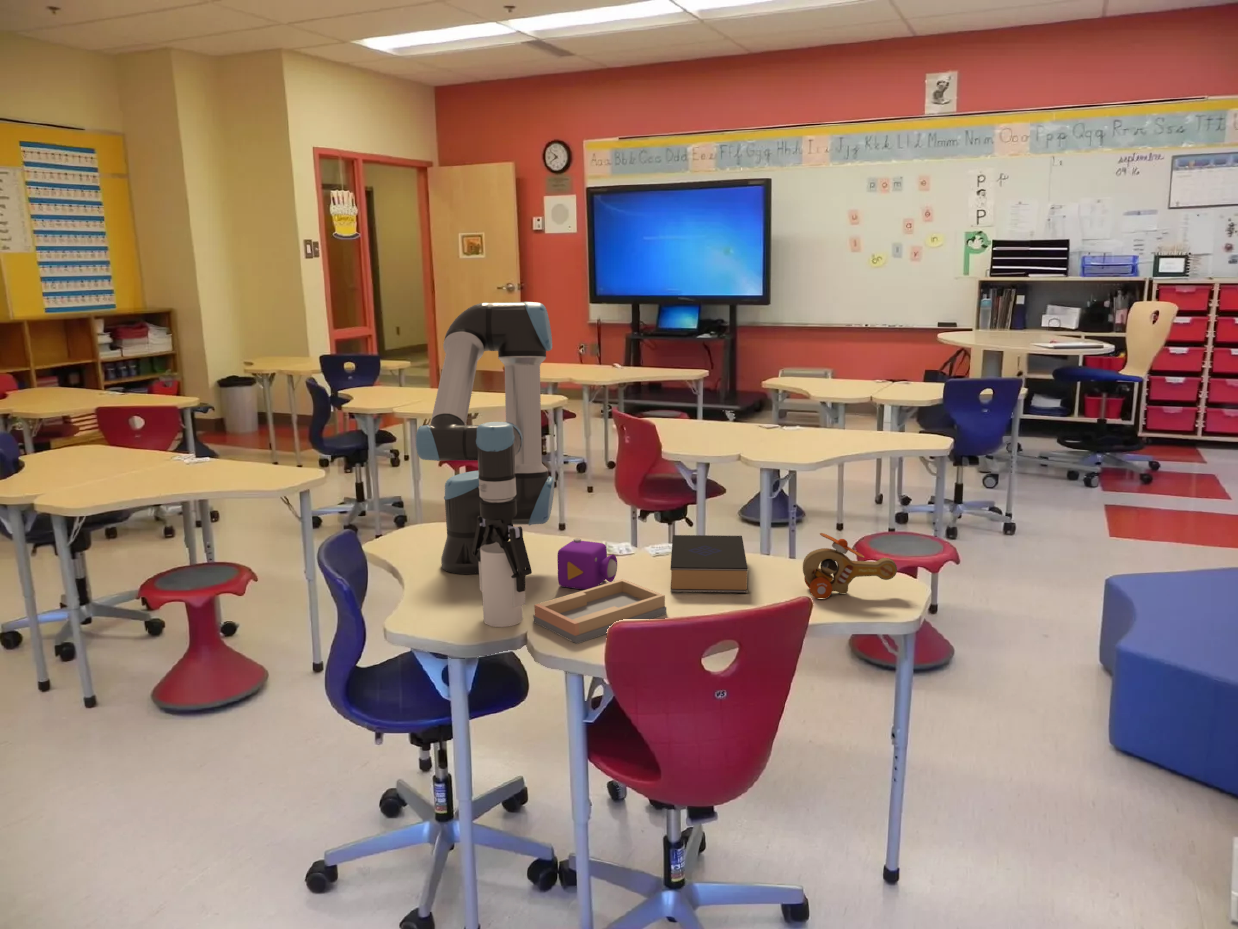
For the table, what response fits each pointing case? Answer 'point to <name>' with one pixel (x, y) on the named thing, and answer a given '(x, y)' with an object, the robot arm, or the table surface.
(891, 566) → the toy helicopter
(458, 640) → the table surface
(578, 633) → the board
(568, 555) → the toy camera
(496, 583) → the cup
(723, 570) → the book
